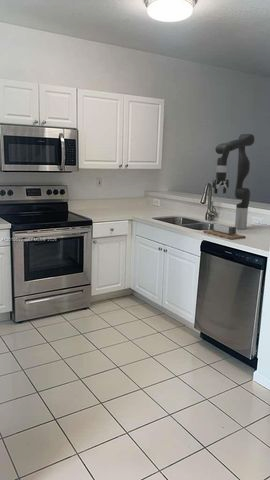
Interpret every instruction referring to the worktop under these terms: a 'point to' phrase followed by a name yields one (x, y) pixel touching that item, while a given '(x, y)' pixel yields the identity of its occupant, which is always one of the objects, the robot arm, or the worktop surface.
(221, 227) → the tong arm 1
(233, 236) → the tong rest
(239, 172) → the robot arm
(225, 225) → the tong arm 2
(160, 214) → the worktop surface
